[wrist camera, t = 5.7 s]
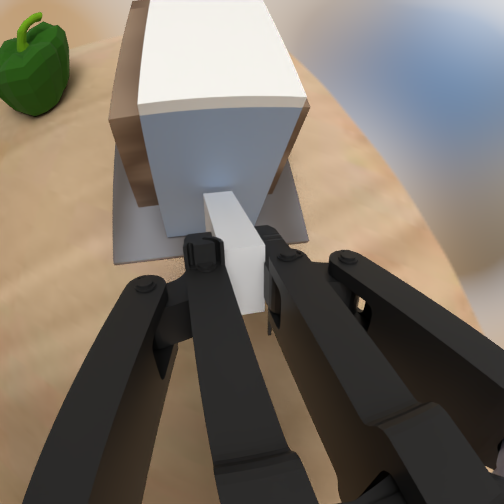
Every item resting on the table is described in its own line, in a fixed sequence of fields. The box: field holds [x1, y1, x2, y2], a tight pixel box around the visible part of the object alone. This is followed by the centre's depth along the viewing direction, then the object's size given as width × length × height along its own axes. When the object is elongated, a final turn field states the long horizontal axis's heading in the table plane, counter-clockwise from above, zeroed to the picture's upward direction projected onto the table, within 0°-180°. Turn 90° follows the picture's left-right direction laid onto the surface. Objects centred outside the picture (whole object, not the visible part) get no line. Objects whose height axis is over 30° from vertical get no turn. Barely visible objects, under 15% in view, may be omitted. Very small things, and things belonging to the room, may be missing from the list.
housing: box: [108, 0, 310, 265], centre depth 20 cm, size 14×18×10 cm
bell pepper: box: [0, 12, 69, 116], centre depth 20 cm, size 8×8×10 cm
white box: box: [137, 0, 307, 237], centre depth 17 cm, size 6×10×13 cm, turn 10°
